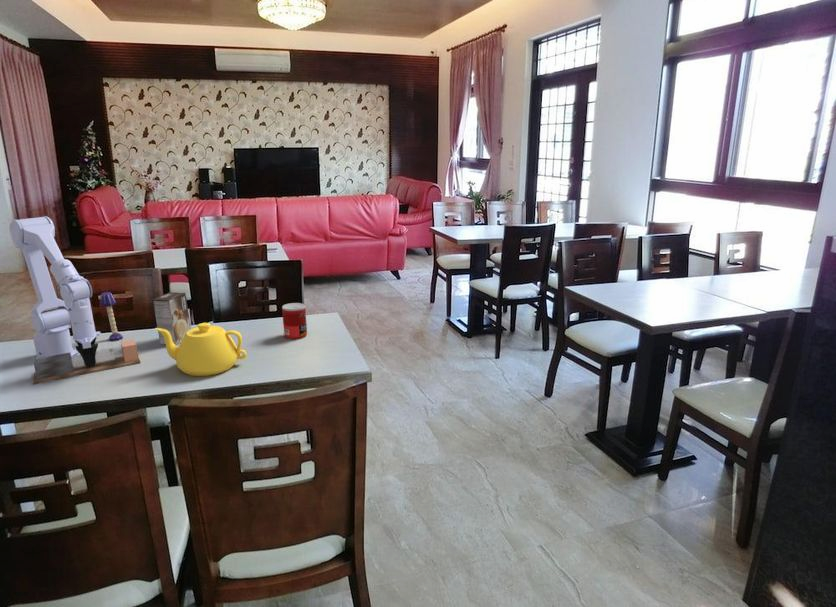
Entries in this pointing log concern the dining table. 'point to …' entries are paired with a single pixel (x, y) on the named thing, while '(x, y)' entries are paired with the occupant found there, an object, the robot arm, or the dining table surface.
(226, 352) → the teapot
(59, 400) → the dining table surface
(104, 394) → the dining table surface
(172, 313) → the coffee box
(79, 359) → the grey banded bar
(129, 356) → the peach-orange block
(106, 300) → the toy lamp
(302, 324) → the canned food
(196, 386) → the dining table surface
